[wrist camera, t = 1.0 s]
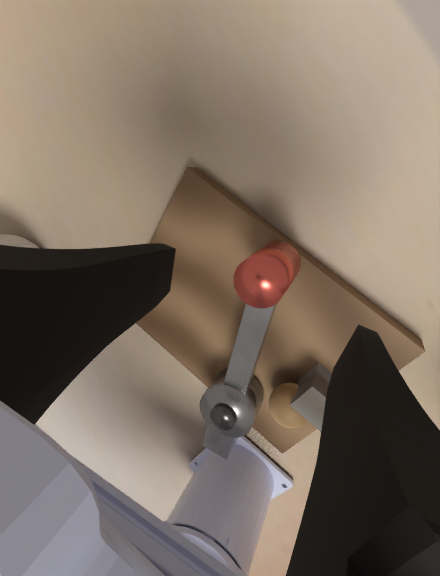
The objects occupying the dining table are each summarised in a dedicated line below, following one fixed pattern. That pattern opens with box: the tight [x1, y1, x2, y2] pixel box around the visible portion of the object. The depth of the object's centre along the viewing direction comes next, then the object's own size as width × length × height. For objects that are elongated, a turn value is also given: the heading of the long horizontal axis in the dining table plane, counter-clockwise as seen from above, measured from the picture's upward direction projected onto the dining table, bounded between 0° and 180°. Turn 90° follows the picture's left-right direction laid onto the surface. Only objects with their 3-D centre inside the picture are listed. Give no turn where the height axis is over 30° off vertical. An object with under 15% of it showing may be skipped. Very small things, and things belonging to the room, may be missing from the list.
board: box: [136, 167, 425, 453], centre depth 23 cm, size 15×20×5 cm
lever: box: [200, 241, 301, 460], centre depth 22 cm, size 18×4×5 cm, turn 167°
